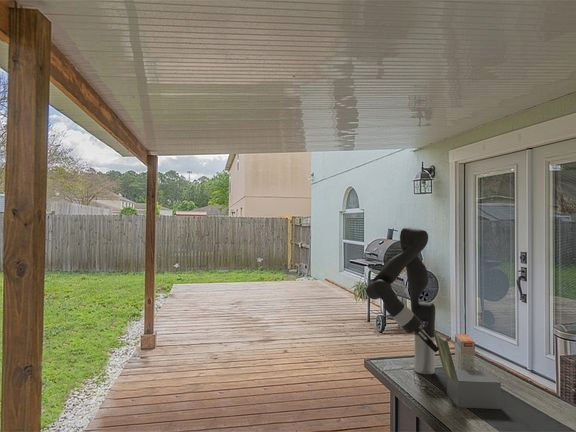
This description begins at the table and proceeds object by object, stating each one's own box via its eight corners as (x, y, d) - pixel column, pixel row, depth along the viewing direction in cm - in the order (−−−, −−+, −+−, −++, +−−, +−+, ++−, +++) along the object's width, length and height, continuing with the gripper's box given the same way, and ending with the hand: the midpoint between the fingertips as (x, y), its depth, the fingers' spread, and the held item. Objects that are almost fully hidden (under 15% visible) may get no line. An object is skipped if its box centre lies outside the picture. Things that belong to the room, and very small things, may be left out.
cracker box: (475, 391, 179) (475, 341, 180) (460, 390, 180) (460, 340, 181) (468, 380, 193) (468, 334, 194) (454, 379, 194) (454, 333, 195)
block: (446, 393, 176) (446, 369, 177) (486, 395, 175) (486, 370, 176) (458, 407, 162) (458, 380, 163) (500, 409, 161) (500, 382, 162)
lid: (446, 369, 177) (443, 369, 177) (436, 331, 178) (432, 332, 178) (458, 381, 162) (454, 382, 162) (447, 340, 163) (443, 341, 163)
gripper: (416, 315, 165) (448, 348, 164) (409, 309, 178) (439, 340, 177) (403, 329, 165) (434, 361, 164) (396, 322, 178) (426, 352, 177)
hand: (436, 350), depth 170 cm, fingers closed
